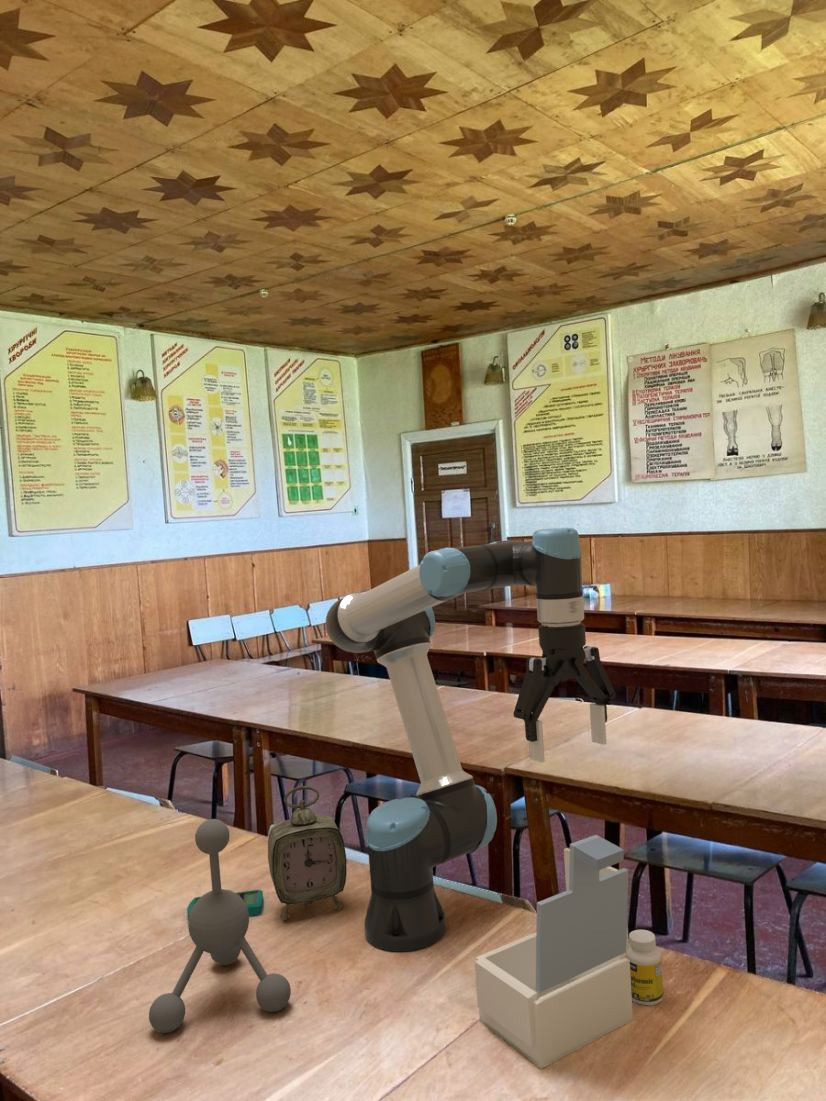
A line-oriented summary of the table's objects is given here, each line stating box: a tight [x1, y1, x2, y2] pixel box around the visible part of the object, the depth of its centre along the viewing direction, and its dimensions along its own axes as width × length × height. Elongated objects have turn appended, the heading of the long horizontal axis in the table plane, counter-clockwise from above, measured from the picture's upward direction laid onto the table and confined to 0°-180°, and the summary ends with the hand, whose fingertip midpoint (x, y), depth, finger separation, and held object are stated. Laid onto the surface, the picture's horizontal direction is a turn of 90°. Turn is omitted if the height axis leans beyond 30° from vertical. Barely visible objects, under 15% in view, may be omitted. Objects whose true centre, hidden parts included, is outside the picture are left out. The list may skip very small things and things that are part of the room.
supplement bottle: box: [625, 929, 664, 1006], centre depth 134 cm, size 5×5×10 cm
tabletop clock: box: [267, 785, 348, 921], centre depth 171 cm, size 14×9×25 cm, turn 106°
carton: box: [474, 847, 634, 1070], centre depth 129 cm, size 14×20×22 cm
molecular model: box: [148, 818, 292, 1034], centre depth 139 cm, size 24×22×30 cm
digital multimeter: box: [186, 889, 264, 921], centre depth 173 cm, size 7×15×3 cm, turn 96°
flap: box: [535, 834, 630, 993], centre depth 120 cm, size 20×17×5 cm
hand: (569, 751), depth 141 cm, fingers open, 13 cm apart
